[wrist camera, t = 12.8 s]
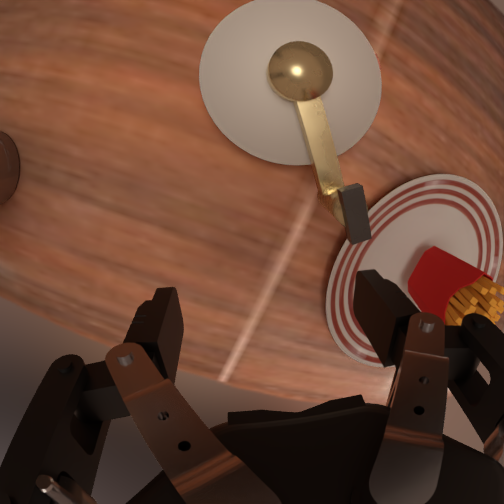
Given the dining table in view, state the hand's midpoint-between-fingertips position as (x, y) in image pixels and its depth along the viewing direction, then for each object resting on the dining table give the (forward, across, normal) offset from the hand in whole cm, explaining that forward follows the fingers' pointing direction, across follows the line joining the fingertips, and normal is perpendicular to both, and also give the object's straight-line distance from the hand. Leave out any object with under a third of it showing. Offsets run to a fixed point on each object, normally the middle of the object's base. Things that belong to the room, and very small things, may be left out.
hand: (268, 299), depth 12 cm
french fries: (+17, -20, +10) cm, 28 cm away
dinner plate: (+20, -22, +12) cm, 32 cm away
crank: (+15, -6, -6) cm, 17 cm away
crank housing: (+20, -5, -11) cm, 23 cm away
